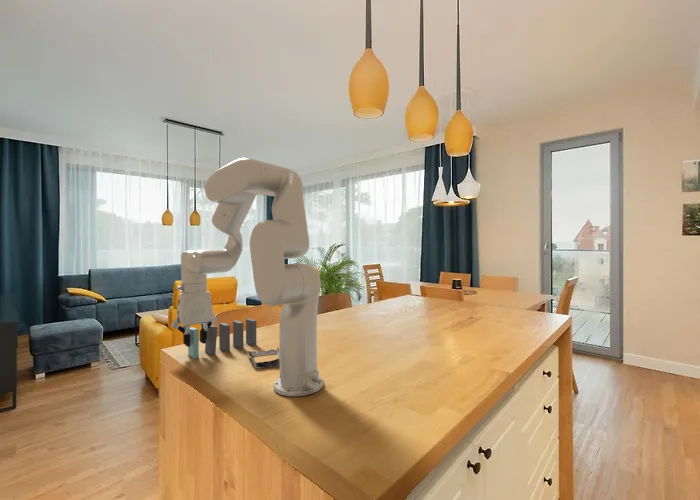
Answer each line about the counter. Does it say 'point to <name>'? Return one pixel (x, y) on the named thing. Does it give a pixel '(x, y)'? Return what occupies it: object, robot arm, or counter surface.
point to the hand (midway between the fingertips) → (195, 343)
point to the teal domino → (194, 343)
